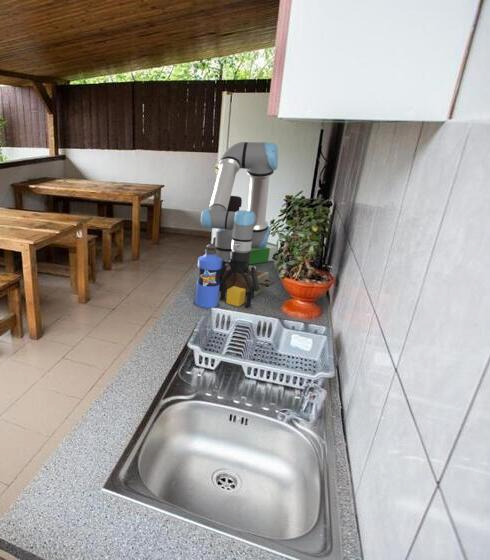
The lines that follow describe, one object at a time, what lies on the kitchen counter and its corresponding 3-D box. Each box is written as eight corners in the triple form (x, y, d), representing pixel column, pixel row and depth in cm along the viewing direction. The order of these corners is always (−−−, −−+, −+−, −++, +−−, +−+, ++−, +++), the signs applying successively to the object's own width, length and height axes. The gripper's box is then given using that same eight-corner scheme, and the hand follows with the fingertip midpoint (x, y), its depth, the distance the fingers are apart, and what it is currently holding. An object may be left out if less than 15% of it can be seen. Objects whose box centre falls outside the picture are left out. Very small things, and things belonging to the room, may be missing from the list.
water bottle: (195, 298, 179) (200, 240, 171) (218, 300, 177) (223, 242, 169) (194, 306, 170) (198, 246, 162) (217, 309, 168) (223, 247, 160)
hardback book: (226, 243, 238) (257, 239, 249) (225, 255, 240) (256, 251, 251) (249, 251, 223) (281, 246, 234) (247, 264, 226) (279, 259, 237)
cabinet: (245, 285, 196) (247, 265, 192) (232, 292, 187) (234, 271, 183) (217, 278, 205) (218, 259, 201) (203, 284, 196) (205, 264, 192)
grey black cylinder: (226, 240, 278) (230, 194, 269) (245, 246, 265) (250, 197, 255) (207, 243, 271) (210, 196, 261) (225, 249, 257) (229, 199, 247)
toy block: (232, 299, 178) (233, 286, 176) (244, 302, 175) (246, 289, 173) (226, 303, 174) (227, 289, 172) (238, 306, 171) (239, 292, 169)
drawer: (275, 291, 186) (278, 274, 183) (265, 298, 178) (267, 280, 175) (238, 282, 197) (240, 266, 194) (226, 288, 189) (228, 271, 186)
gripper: (209, 247, 172) (205, 297, 179) (265, 257, 158) (258, 312, 165) (219, 243, 177) (214, 293, 184) (273, 254, 163) (266, 307, 170)
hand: (235, 302), depth 174 cm, fingers open, 11 cm apart
